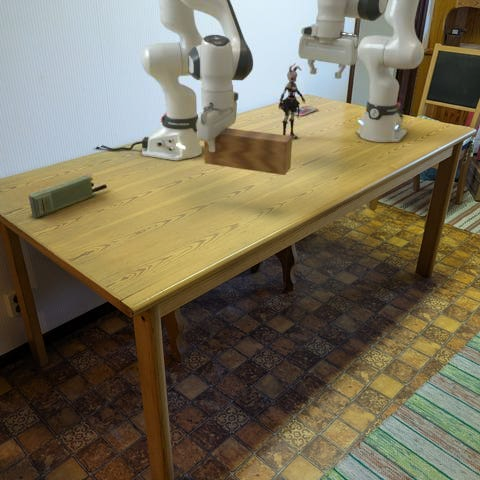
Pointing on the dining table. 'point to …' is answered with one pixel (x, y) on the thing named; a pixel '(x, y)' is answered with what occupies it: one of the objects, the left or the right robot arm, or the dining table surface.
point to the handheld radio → (62, 195)
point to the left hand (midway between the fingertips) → (217, 147)
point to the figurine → (290, 100)
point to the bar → (251, 151)
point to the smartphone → (305, 110)
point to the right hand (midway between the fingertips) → (325, 76)
